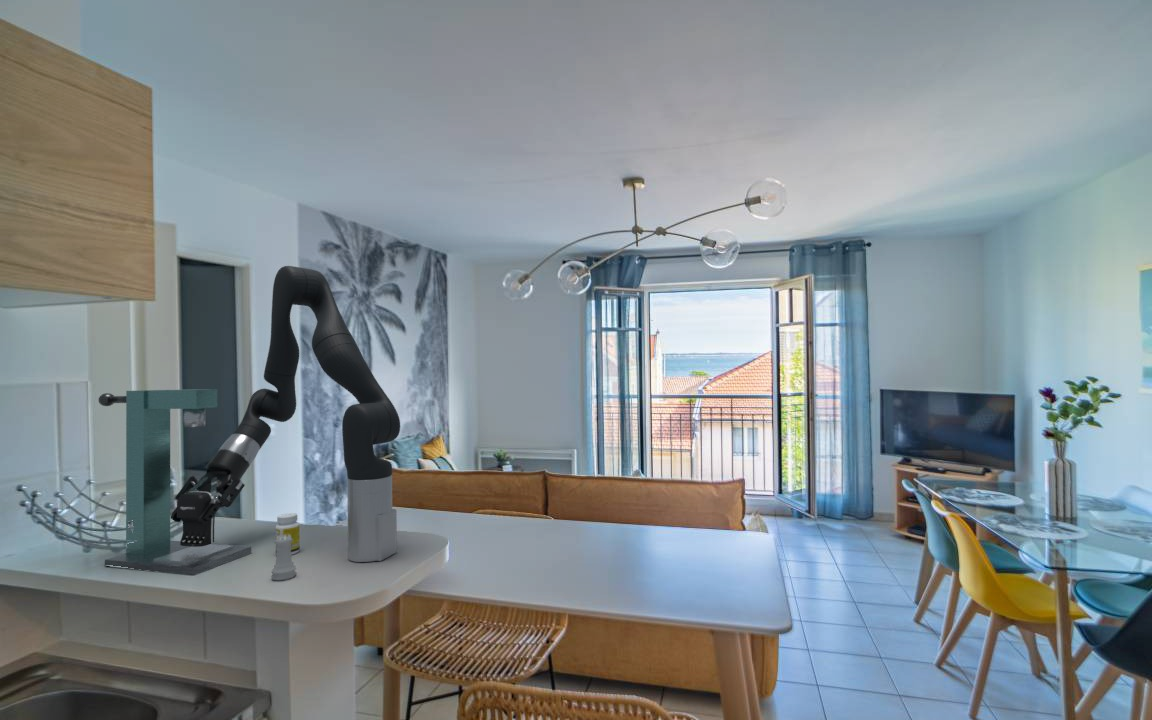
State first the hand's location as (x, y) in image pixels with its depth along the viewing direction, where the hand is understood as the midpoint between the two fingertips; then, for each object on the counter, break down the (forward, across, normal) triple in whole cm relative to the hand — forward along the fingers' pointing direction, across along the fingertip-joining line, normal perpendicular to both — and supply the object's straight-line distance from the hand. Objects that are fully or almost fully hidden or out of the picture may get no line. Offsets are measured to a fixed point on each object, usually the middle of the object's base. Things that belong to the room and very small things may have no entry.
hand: (188, 521), depth 120 cm
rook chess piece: (+8, +27, +4) cm, 29 cm away
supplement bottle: (-1, +16, +14) cm, 21 cm away
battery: (+3, 0, +5) cm, 6 cm away
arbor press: (+5, -9, +7) cm, 13 cm away
